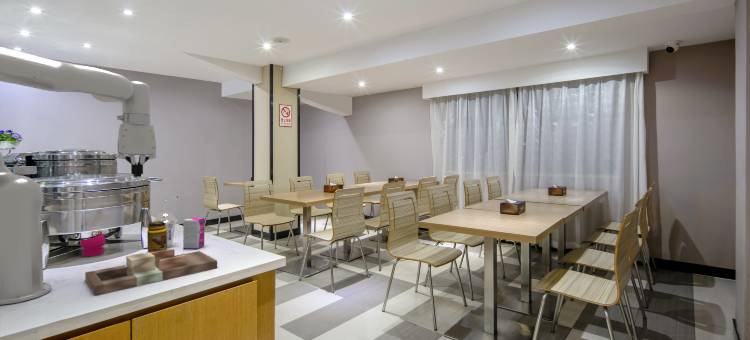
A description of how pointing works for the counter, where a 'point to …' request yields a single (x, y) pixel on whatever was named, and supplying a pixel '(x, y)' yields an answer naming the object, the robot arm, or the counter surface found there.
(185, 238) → the supplement box
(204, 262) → the board
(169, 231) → the cup with straw
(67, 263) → the counter surface
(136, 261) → the maple block
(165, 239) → the condiment
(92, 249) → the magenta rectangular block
